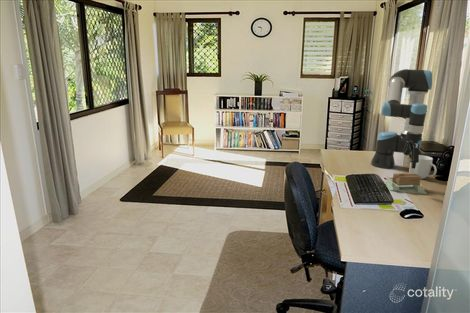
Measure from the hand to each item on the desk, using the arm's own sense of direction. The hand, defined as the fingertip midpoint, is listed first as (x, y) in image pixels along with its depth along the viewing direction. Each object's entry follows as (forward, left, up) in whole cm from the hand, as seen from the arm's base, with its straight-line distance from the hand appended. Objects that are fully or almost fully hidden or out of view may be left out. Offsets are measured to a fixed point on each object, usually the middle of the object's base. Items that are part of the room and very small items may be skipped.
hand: (407, 169), depth 197 cm
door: (0, 0, -8) cm, 8 cm away
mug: (-24, +16, -11) cm, 30 cm away
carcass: (0, 0, -11) cm, 11 cm away
